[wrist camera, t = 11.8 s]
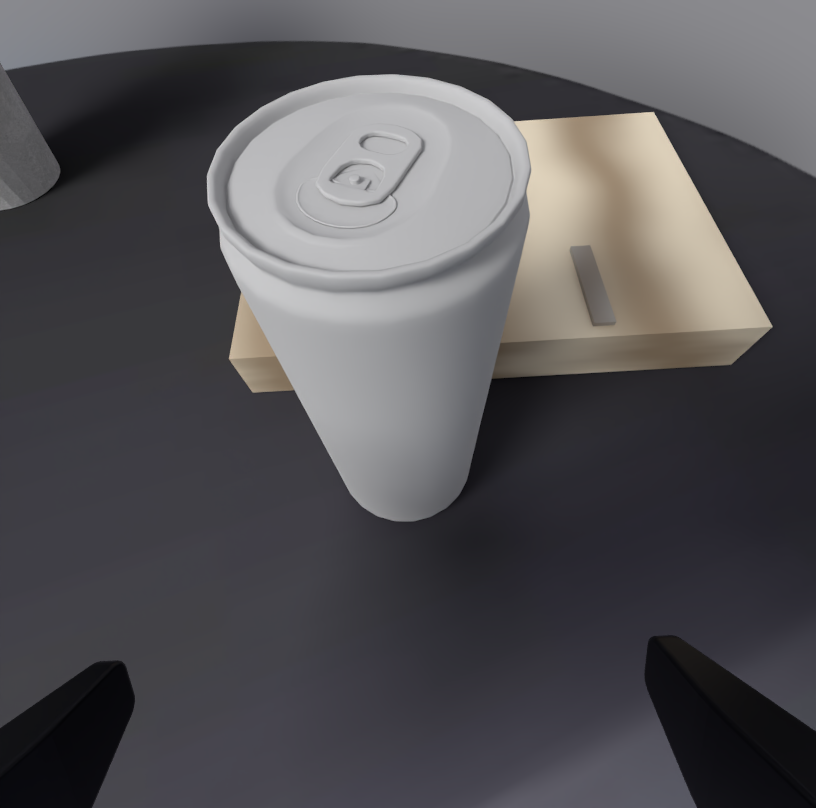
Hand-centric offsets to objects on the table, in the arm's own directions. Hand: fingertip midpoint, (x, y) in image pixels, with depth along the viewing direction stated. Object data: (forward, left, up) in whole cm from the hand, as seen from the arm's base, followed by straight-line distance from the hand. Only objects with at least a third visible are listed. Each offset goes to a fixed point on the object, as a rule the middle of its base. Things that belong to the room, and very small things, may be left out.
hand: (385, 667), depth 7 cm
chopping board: (+13, -12, -7) cm, 19 cm away
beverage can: (+5, -3, -7) cm, 10 cm away
